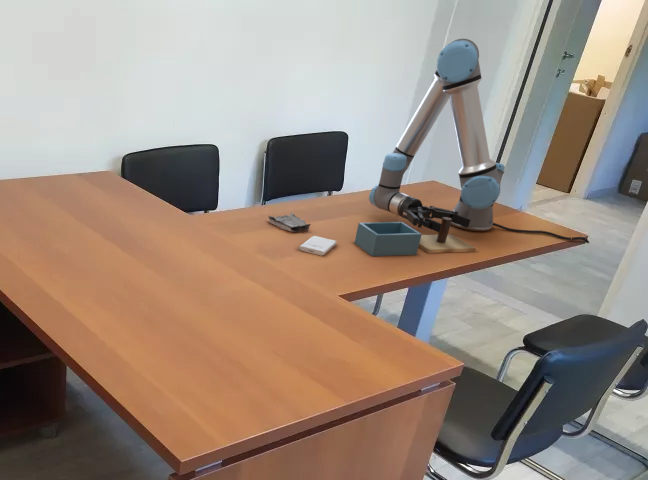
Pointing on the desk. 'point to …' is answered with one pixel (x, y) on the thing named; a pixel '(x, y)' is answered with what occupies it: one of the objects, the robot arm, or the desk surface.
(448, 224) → the tan piece
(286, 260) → the desk surface
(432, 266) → the desk surface
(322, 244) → the hard drive
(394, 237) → the toy box
